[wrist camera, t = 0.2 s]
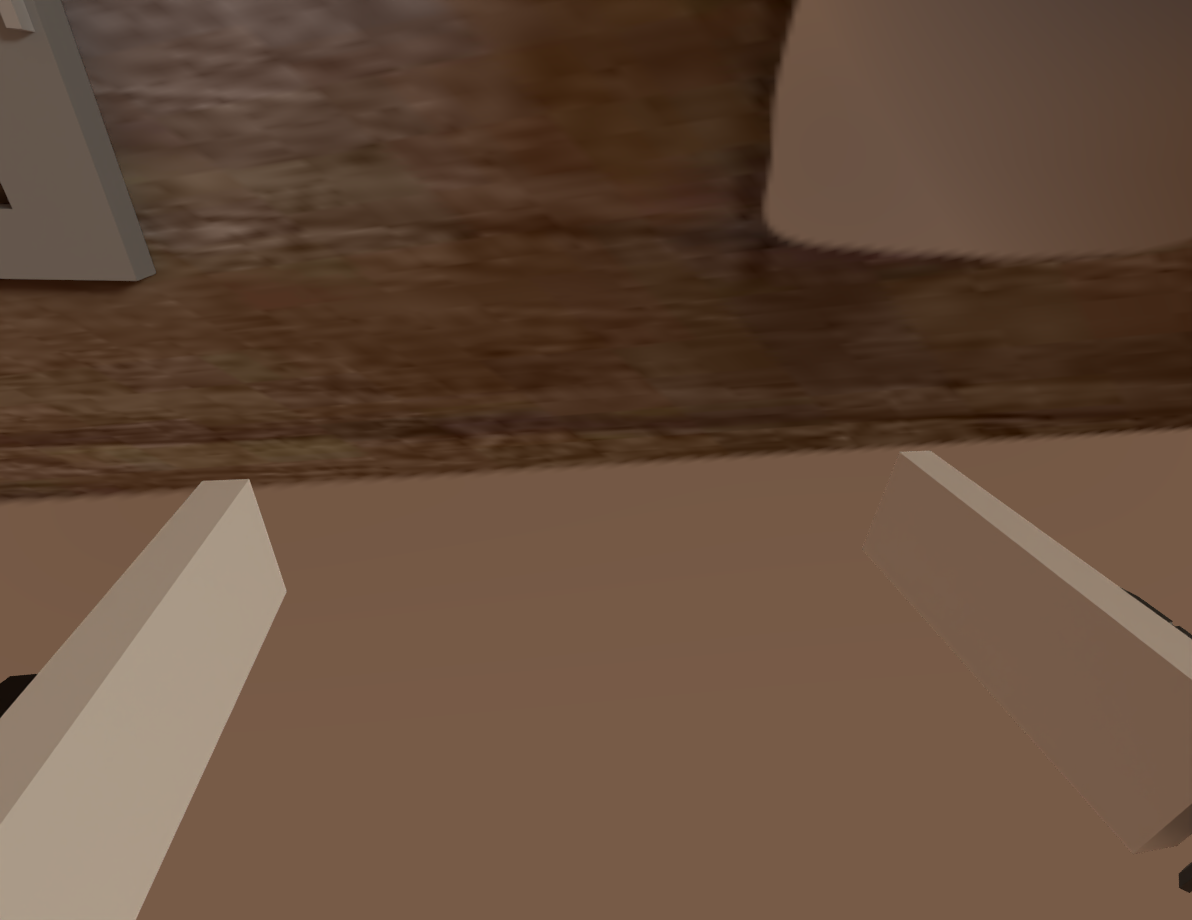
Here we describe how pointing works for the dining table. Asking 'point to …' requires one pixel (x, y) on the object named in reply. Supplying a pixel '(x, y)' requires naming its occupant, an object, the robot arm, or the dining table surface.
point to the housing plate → (58, 160)
